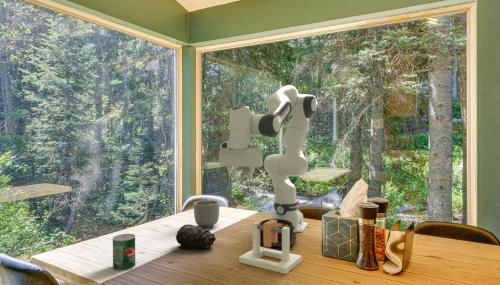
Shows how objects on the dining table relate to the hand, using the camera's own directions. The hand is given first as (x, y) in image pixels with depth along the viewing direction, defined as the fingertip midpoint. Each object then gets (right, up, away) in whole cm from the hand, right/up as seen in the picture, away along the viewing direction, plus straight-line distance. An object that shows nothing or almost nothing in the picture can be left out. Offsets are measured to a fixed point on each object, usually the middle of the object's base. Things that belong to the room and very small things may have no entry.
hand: (240, 177), depth 131 cm
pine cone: (-19, -31, +6) cm, 37 cm away
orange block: (+12, -24, -11) cm, 29 cm away
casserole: (+16, -31, +13) cm, 38 cm away
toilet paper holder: (+12, -31, -11) cm, 35 cm away
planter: (-19, -31, +37) cm, 52 cm away
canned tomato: (-43, -32, -15) cm, 55 cm away
